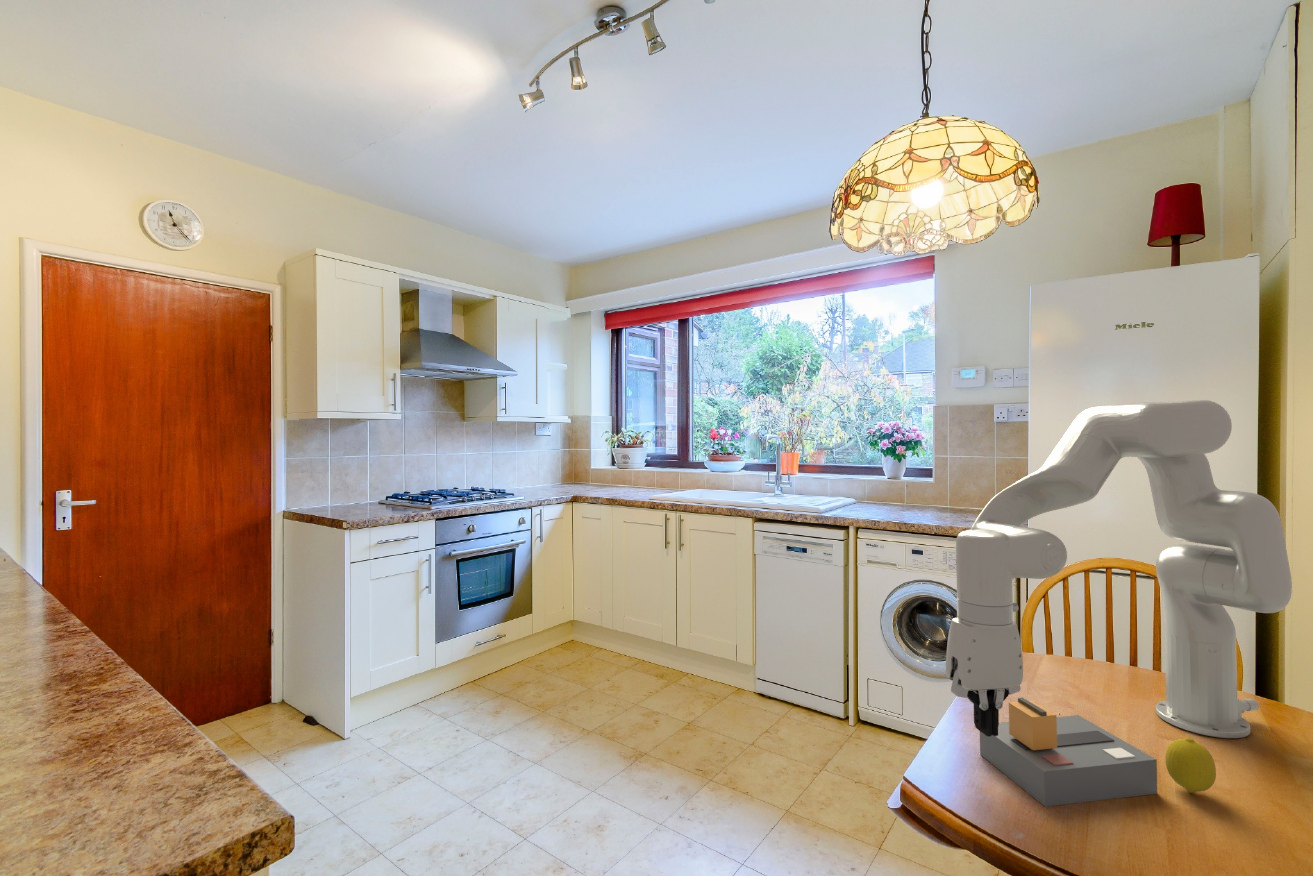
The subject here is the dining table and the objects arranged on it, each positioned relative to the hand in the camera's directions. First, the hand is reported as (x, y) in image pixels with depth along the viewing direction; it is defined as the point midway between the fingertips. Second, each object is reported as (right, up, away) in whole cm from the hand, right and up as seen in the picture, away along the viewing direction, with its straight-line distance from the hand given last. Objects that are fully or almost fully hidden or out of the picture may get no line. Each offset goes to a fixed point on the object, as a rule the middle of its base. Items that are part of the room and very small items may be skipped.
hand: (986, 731), depth 92 cm
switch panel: (+13, -7, +2) cm, 15 cm away
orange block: (+8, -2, +1) cm, 8 cm away
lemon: (+28, -7, -4) cm, 29 cm away
